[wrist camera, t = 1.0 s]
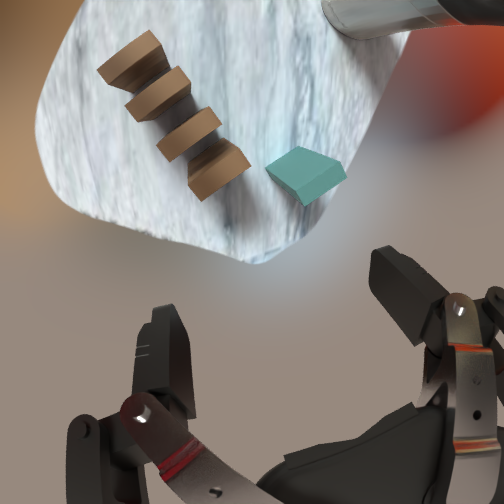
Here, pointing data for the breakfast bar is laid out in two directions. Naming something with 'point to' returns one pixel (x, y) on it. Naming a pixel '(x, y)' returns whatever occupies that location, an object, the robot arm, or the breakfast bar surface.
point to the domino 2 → (160, 95)
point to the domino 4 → (215, 168)
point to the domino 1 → (135, 63)
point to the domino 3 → (188, 133)
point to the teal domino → (306, 174)
